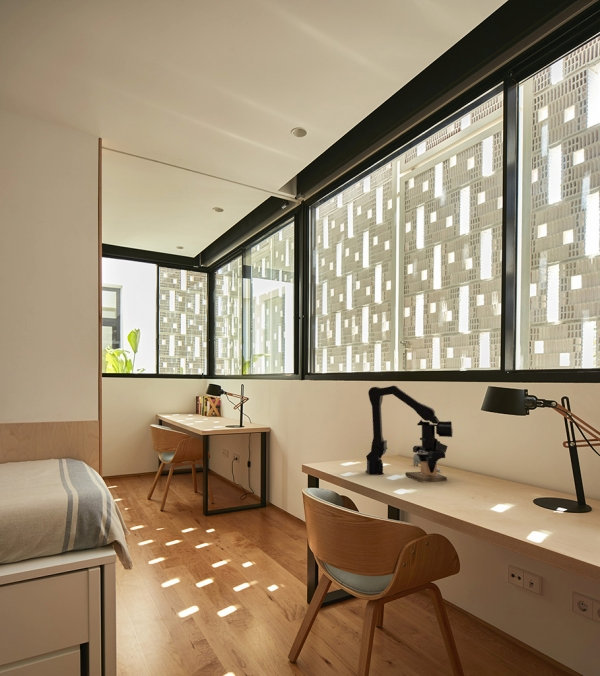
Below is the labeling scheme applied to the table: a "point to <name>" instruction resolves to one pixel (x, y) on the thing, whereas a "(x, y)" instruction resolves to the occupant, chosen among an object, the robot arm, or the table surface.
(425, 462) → the light brown cube
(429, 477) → the post board
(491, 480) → the table surface
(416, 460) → the caliper
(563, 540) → the table surface
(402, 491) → the table surface
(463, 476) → the table surface
